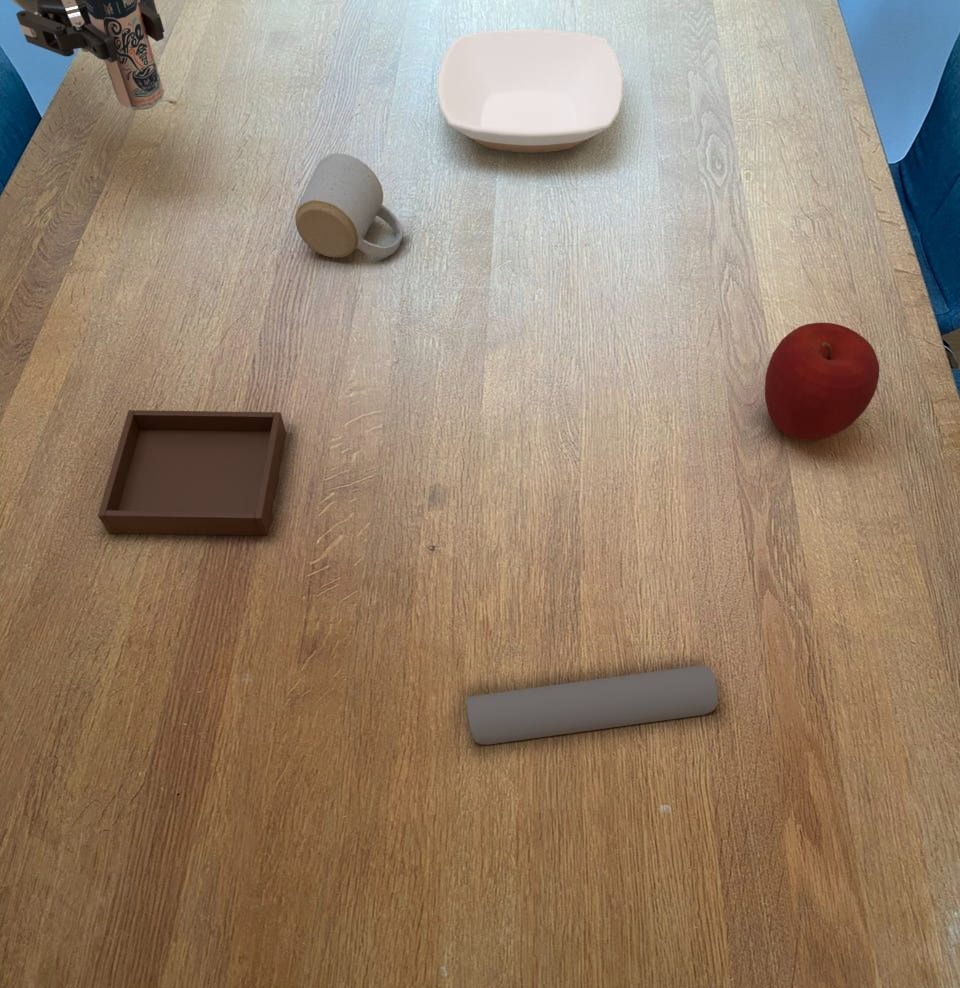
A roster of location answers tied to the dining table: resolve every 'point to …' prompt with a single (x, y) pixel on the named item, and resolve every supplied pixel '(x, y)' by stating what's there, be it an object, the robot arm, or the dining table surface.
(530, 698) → the half round rod
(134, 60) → the beer can
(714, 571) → the dining table surface
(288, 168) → the dining table surface
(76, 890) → the dining table surface
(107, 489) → the serving tray
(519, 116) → the bowl
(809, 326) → the apple
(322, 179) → the ceramic mug
